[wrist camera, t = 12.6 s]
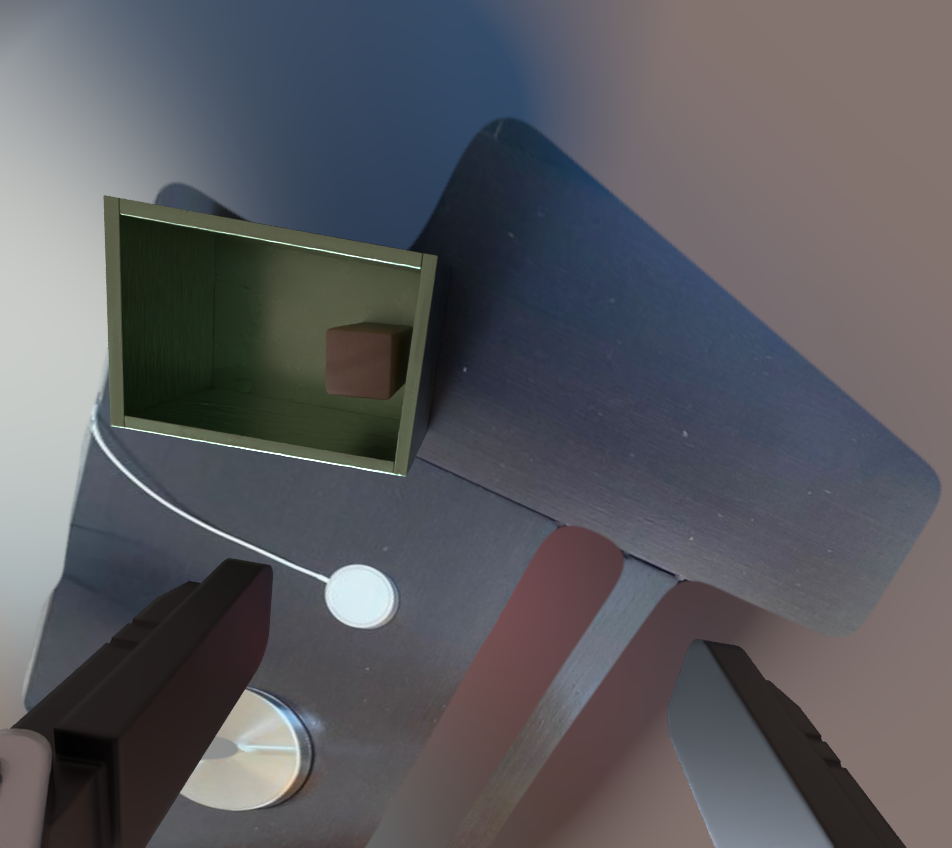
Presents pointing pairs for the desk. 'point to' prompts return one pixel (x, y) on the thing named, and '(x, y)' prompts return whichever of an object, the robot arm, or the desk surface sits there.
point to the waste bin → (262, 334)
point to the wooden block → (367, 359)
